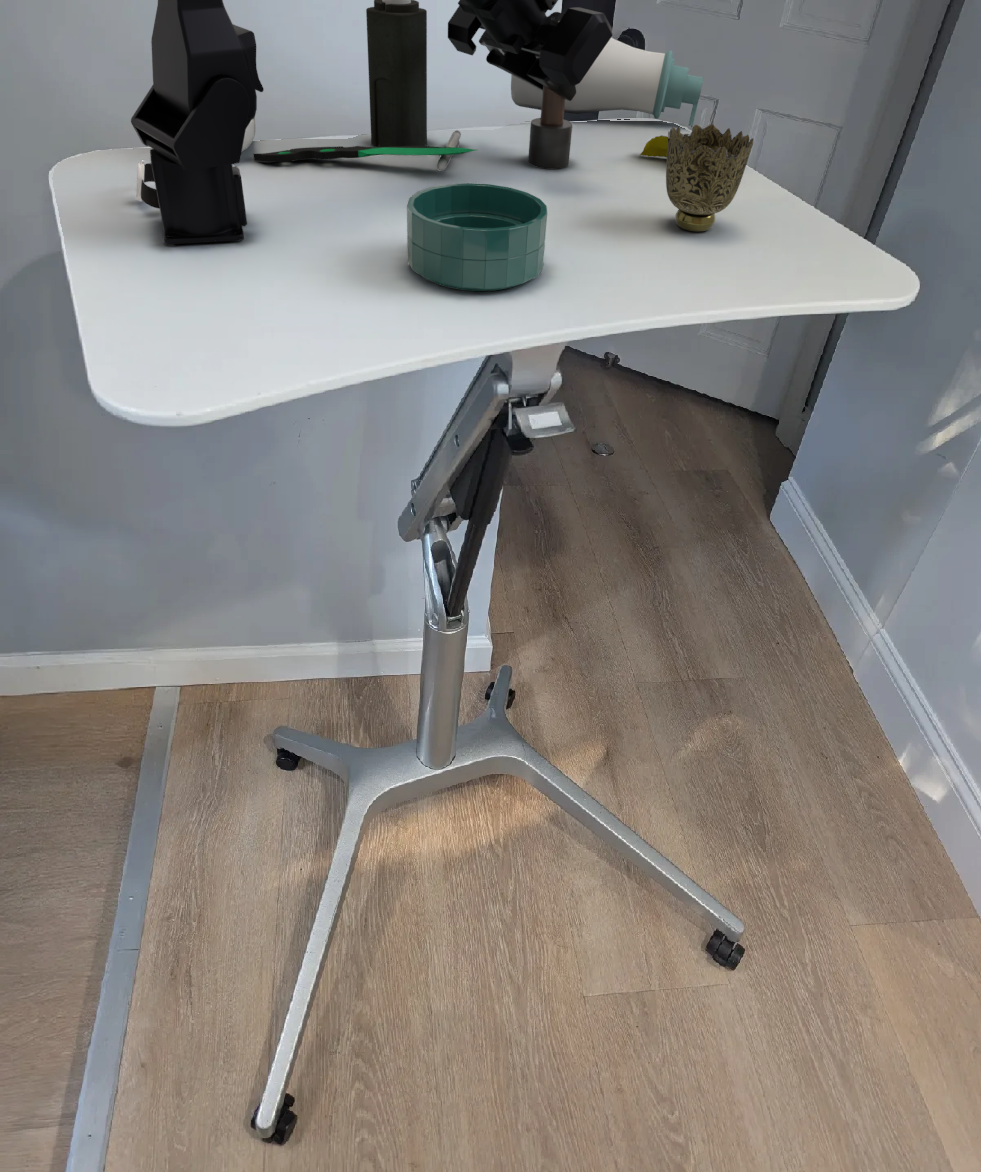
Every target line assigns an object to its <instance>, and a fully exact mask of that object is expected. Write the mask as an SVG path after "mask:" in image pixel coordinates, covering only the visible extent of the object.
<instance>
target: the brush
mask: <svg viewBox="0 0 981 1172" xmlns="http://www.w3.org/2000/svg"><path fill="white" fill-rule="evenodd" d="M564 107H565V98H563V97H561V96H559V95H558V94H556V93H555V92H553V91H552V90H550V89H548V88H547V87H545V86H544V85H543V93H542V106H541V110H540V117H537V118H534V119H531V121H530V128H529V142H528V159H527V162H528V164H529V165H531V166H533V167H536V168H540V169H545V170H559V169H564V168H567V167H568V166H569V163H570V155H571V146H572V145H571V144H572V134H573V123H572V121H570V120H568V119H564V117H565V113H564Z"/></svg>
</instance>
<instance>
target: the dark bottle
mask: <svg viewBox="0 0 981 1172" xmlns="http://www.w3.org/2000/svg"><path fill="white" fill-rule="evenodd" d="M365 13H366V16H365V17H366V37H367V39H366V41H367V43H366V44H367V61H368V62H367V67H368V68H367V69H368V90H369V91H368V93H369V94H368V95H369V116H370V119H369V120H370V144H371V145H372V146H373V147H387V146H421V145H428V67H427V66H428V35H427V34H428V16H427V14H428V12H427V9H425V8H421V7H420V1H418V0H373V6H371V7H367V8H366V10H365Z"/></svg>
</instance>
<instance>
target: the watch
mask: <svg viewBox="0 0 981 1172" xmlns="http://www.w3.org/2000/svg"><path fill="white" fill-rule="evenodd" d="M137 164H138V165H137V174H136V175H137V177H136V193H135V201H138V202H140V203H142V202H143V203H145V204H146V205H148V206H149V207H152V208H155V209H159V210H160V207H159V202H158V197H157V191H156V188H153V187H150V186H149V185H147V184H146V183H148V182H149V183H150V182H153V183H155V181H154V175H153V170H152V165H151V162H149V163H146V160H143V159H141V162H138V163H137Z"/></svg>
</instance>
